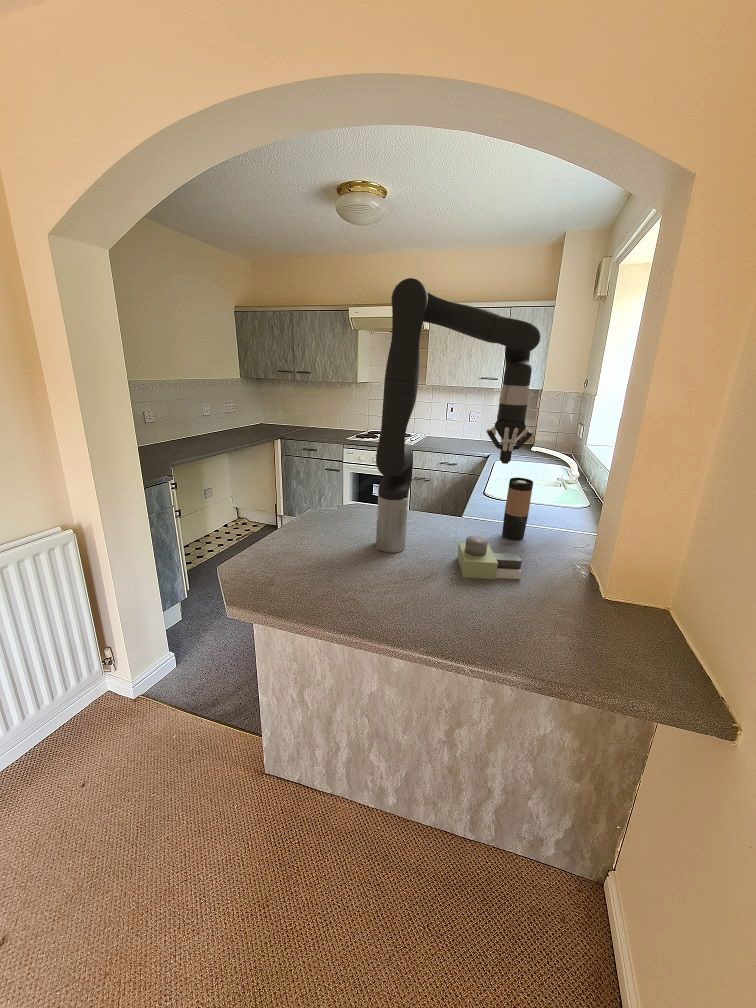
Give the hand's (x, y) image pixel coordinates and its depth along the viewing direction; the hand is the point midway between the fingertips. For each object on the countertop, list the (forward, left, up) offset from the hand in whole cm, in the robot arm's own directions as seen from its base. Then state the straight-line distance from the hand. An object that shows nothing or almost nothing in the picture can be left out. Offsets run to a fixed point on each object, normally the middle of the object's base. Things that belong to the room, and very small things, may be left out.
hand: (504, 463), depth 119 cm
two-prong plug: (-3, -11, -29) cm, 31 cm away
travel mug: (+10, +14, -29) cm, 34 cm away
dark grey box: (+1, -13, -29) cm, 32 cm away
